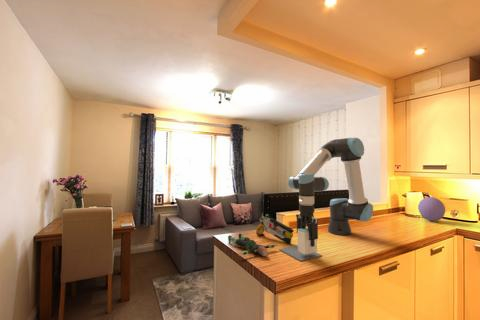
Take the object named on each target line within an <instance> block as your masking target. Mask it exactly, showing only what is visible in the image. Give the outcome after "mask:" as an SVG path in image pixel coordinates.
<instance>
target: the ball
mask: <svg viewBox="0 0 480 320" xmlns="http://www.w3.org/2000/svg"><path fill="white" fill-rule="evenodd" d="M417 205H418V206H417V209H418V212H419V214H420V216H421V217H422V218H423V219H425V220H427V221H430V222H436V221H440V220H441V219H442V218H444V216H445V213H446V206H445V203H443V202H442V201H441V200H440V199H438V198H436V197H434V196H426V197H424V198H423V199H421V200H420V201H419V203H418V204H417Z"/></svg>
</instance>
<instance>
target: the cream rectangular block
mask: <svg viewBox="0 0 480 320" xmlns="http://www.w3.org/2000/svg"><path fill="white" fill-rule="evenodd" d="M308 239H310V237H309V231H308V226H306V228H301V229H298V234H297V245H298V251H299V252H301V253H303V254H309V242H308ZM314 242H315V246H314V252H316V253H318V239H315V240H314Z"/></svg>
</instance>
